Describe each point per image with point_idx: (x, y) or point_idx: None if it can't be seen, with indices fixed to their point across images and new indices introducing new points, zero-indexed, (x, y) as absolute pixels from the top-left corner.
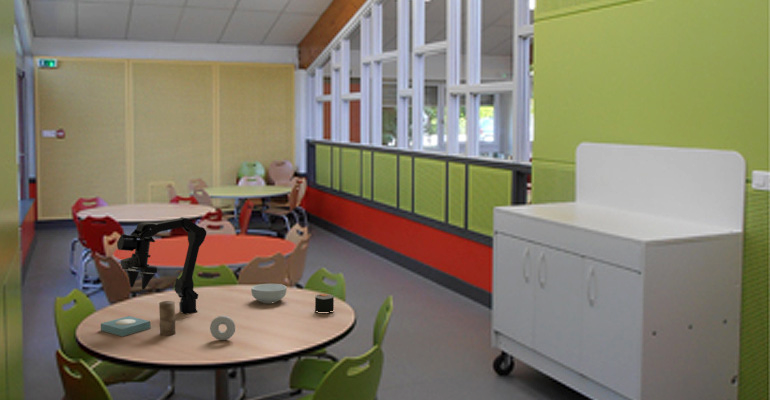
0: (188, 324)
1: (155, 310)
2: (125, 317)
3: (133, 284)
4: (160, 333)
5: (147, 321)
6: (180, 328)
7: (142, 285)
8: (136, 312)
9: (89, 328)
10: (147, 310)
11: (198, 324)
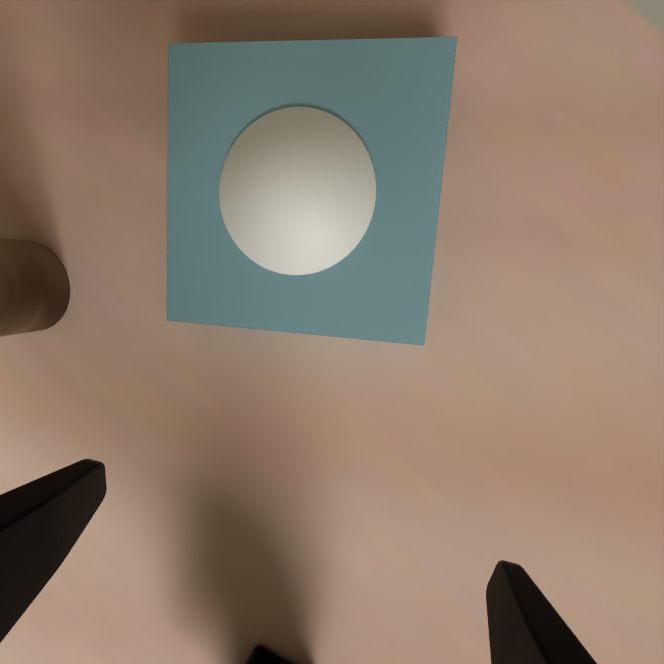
0: None
1: None
2: (412, 295)
3: (494, 650)
4: (36, 245)
5: (178, 304)
6: (54, 401)
7: (13, 494)
8: (592, 561)
9: (587, 50)
10: None
11: None
